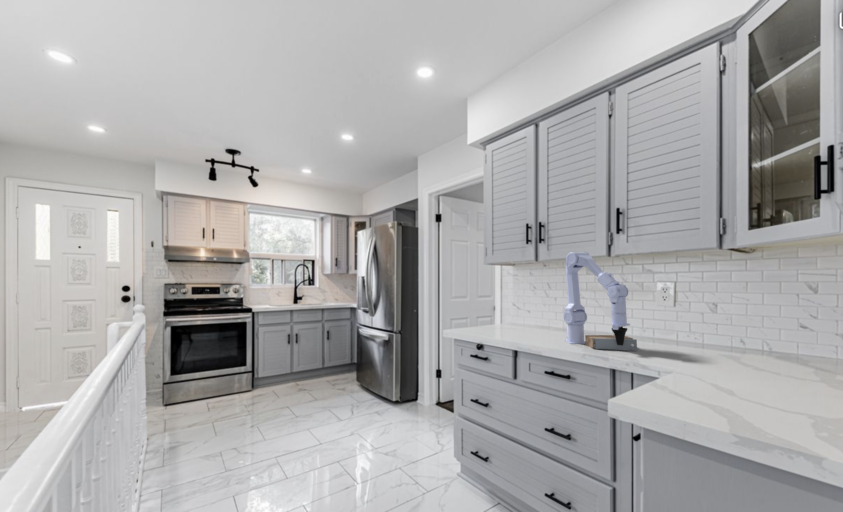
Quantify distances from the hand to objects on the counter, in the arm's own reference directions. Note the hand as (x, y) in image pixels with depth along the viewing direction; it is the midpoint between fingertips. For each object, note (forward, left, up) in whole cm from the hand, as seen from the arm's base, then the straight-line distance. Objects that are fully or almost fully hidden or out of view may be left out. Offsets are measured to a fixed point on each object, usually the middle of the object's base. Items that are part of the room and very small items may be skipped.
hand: (620, 345), depth 156 cm
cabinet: (-9, -1, -3) cm, 9 cm away
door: (-1, -2, -2) cm, 3 cm away
